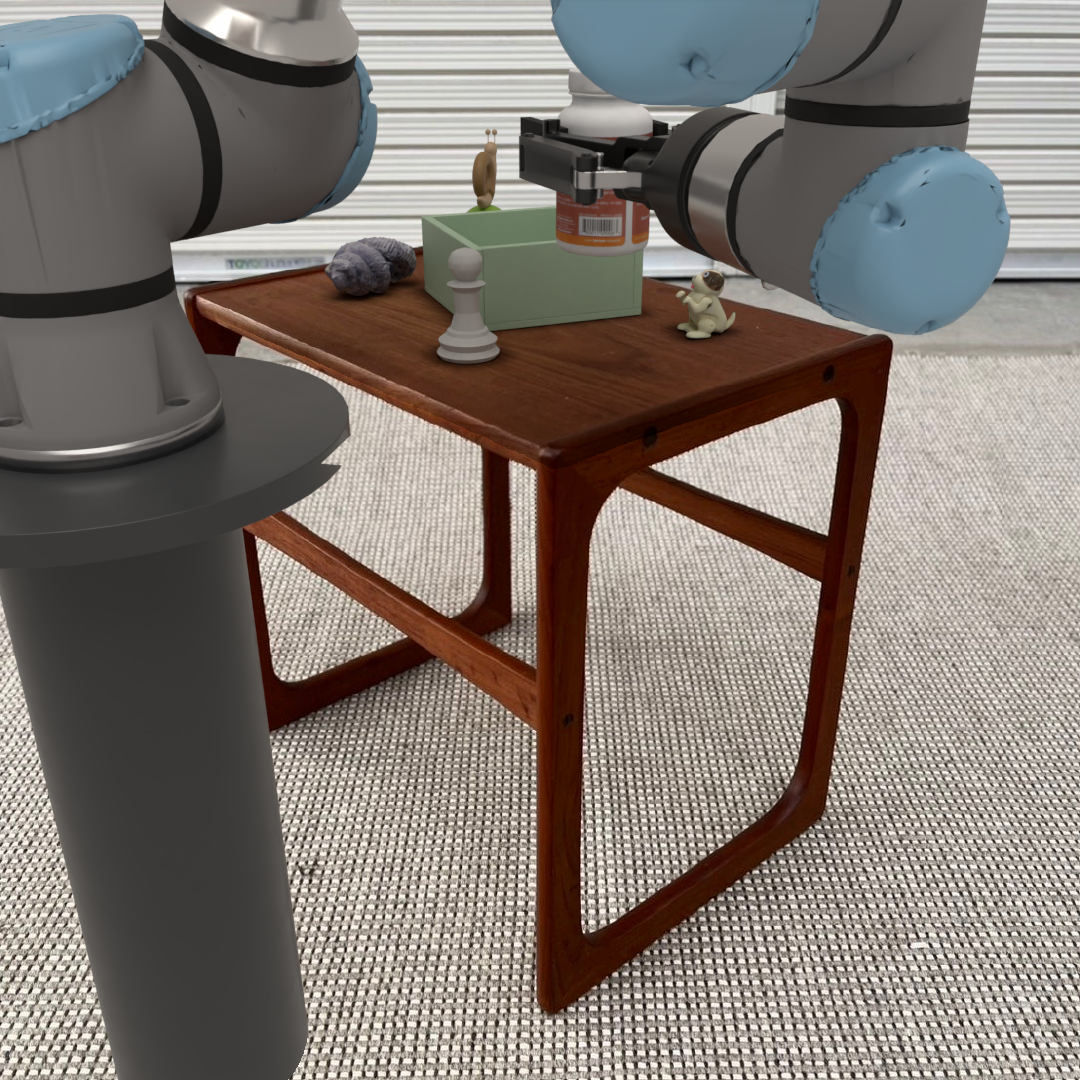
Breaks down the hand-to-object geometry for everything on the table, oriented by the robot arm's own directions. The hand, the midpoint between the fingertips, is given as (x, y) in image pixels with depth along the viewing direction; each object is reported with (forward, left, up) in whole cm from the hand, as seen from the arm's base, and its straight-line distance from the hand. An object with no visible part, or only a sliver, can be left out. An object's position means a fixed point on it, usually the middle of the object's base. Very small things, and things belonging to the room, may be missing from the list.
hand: (573, 136), depth 77 cm
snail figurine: (+5, +34, -16) cm, 38 cm away
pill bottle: (0, -5, -7) cm, 8 cm away
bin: (+3, +17, -16) cm, 23 cm away
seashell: (-9, +26, -16) cm, 31 cm away
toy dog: (+13, +3, -16) cm, 21 cm away
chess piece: (-7, +4, -16) cm, 18 cm away
